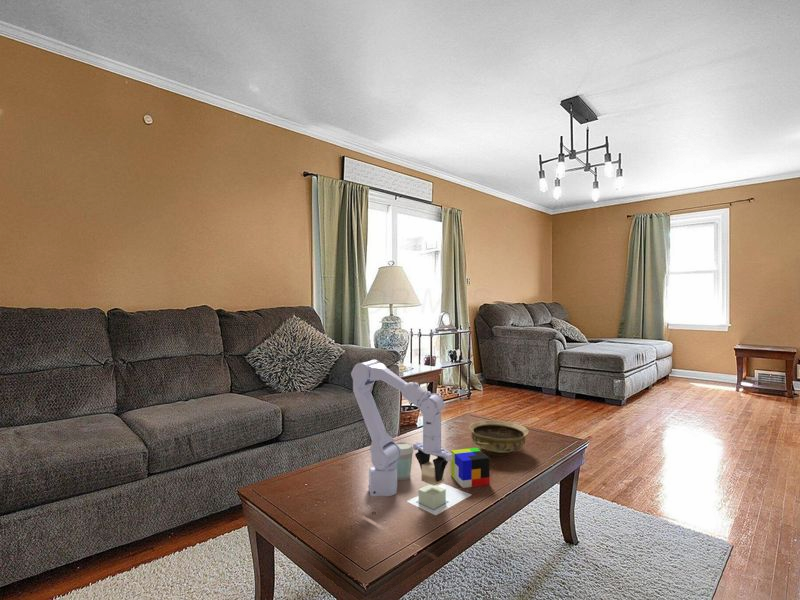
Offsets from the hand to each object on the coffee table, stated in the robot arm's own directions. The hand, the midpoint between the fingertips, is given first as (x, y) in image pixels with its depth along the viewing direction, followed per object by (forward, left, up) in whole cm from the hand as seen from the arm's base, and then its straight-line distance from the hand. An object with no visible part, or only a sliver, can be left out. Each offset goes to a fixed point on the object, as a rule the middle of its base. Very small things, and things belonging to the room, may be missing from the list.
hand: (432, 477), depth 134 cm
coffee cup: (-6, +20, -9) cm, 23 cm away
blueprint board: (+3, +2, -8) cm, 9 cm away
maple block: (0, 0, -1) cm, 1 cm away
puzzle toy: (+17, +13, -9) cm, 23 cm away
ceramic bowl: (+38, +38, -9) cm, 54 cm away
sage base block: (0, 0, -8) cm, 8 cm away
